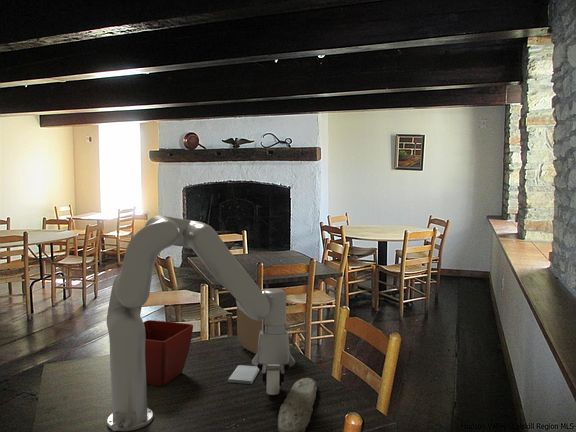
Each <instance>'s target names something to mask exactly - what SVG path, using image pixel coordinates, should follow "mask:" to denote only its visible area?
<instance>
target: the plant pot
mask: <svg viewBox="0 0 576 432" xmlns="http://www.w3.org/2000/svg"><path fill="white" fill-rule="evenodd" d="M143 323H144V326H145V332H146V341H145V364H146V385H151V386H152V385H153V386H158V387H163V386H166V385H167V384H168V383H169V382H171V381H172V380H174V379H175V378H177V377H179V375H181V374H182V373H183V371H184V368H185V364H186V362H187V359H188V355H189V352H190V351H189V350H190V347H191V342H192V338H193V337H192V336H193V330H194V324H192V323H191V324H190V323H183V322H173V321H165V320H164V321H163V320H155V319H148V320H145V321H143Z"/></svg>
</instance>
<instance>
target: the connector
mask: <svg viewBox="0 0 576 432" xmlns="http://www.w3.org/2000/svg"><path fill="white" fill-rule="evenodd" d="M266 369H267V385H266V394H267V395H269V396H275V395H279V394H280V387H281V386H280V385H279V376H280V364H267V367H266Z"/></svg>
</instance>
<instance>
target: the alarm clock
mask: <svg viewBox="0 0 576 432" xmlns="http://www.w3.org/2000/svg"><path fill="white" fill-rule="evenodd" d="M236 329H237V330H236V332H237V338H238V340H239V342H240V345H242V346H243V347H244V349H245V350H247V351H249V352H251V353H253V354H254V355H256V354H257V353H258V340H259V334H260V331H261V330H262V320H253V319H251V318H250V317H248V316H247V315H246V314H245V313H243V312H242V311H241V310H240V309H239V308H238V306H237V305H236Z"/></svg>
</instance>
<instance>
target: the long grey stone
mask: <svg viewBox="0 0 576 432" xmlns="http://www.w3.org/2000/svg"><path fill="white" fill-rule="evenodd" d="M317 391H318V387H317V382H316V380H314V379H313V378H310V377H303V378H301V379H299V380H297V381H295V382H294V383H293V384H292V387H291V389H290V391H289V392H288V393H287V395H286V398H285V399H284V401H283V403H282V404H281V405H280V407H279V411H278V415H277V431H278V432H306V428H307V427H308V425H309V423H310V421H311V417H312V413H313V410H314V409H313V406H314V403H315V400H316V399H317V398H316V396H317Z"/></svg>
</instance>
